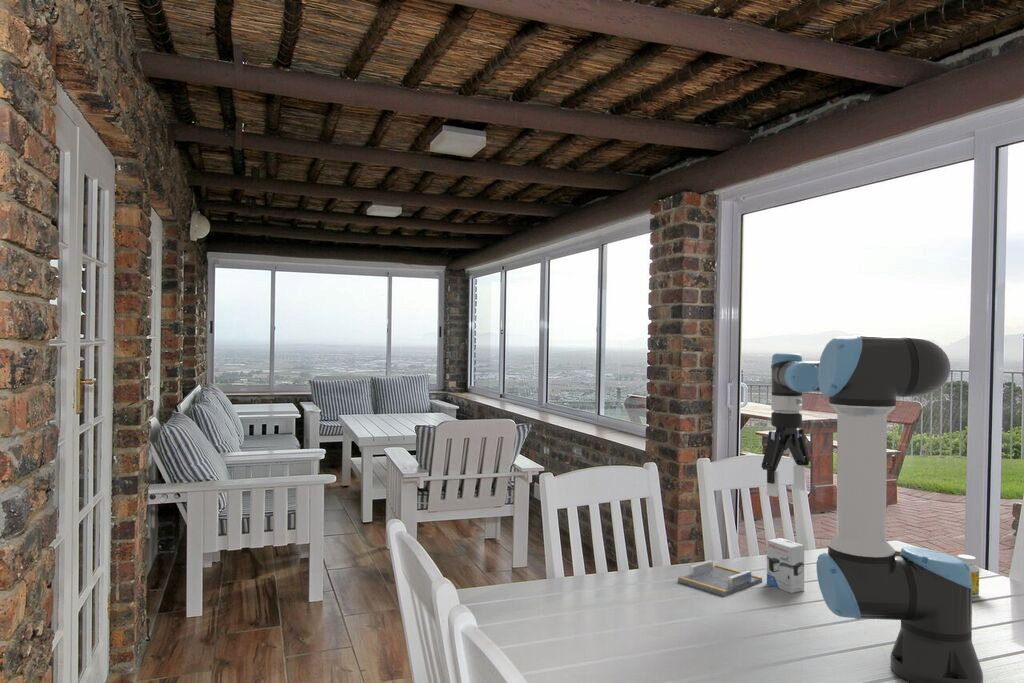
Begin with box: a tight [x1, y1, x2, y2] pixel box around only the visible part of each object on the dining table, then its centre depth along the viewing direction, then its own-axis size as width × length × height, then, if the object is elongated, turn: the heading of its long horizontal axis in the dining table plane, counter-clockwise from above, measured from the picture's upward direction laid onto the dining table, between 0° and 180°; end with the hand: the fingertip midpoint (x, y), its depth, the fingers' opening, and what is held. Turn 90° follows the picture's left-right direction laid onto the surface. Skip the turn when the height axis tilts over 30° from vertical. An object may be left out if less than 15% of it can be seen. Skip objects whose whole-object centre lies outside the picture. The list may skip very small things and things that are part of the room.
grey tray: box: [677, 559, 763, 597], centre depth 187 cm, size 18×14×4 cm
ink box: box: [766, 537, 805, 594], centre depth 183 cm, size 8×5×12 cm, turn 25°
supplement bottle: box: [956, 554, 980, 598], centre depth 179 cm, size 5×5×10 cm
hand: (786, 492), depth 184 cm, fingers open, 13 cm apart
